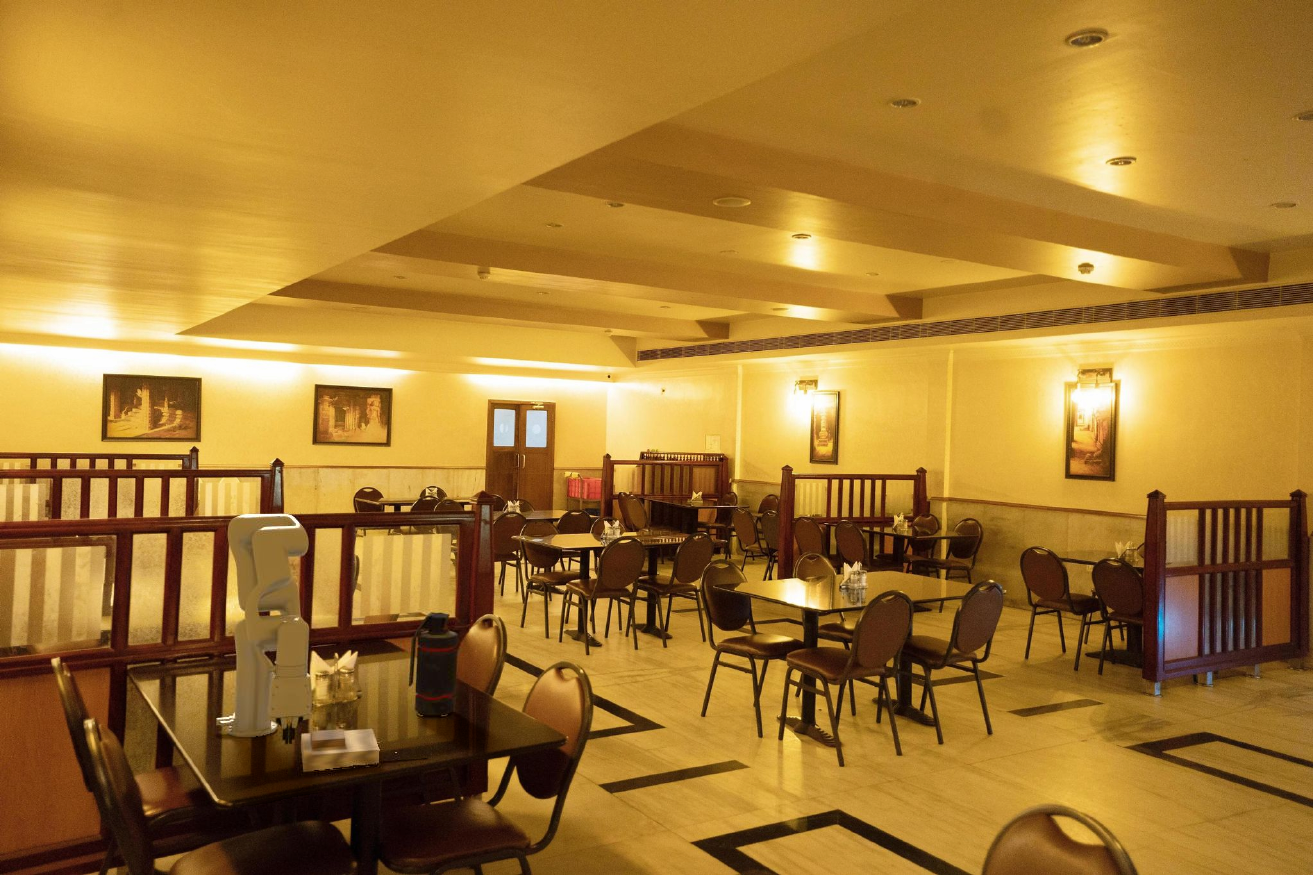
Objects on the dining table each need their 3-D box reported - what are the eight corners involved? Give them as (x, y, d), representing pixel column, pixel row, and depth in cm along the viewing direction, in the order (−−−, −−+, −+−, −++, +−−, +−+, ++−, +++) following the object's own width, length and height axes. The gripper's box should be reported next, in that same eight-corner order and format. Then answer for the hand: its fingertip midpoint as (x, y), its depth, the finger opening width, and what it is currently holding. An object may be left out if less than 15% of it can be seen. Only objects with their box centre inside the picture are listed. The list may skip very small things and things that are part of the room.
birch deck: (303, 771, 238) (304, 755, 238) (300, 748, 254) (301, 733, 254) (378, 765, 244) (379, 749, 244) (371, 743, 261) (372, 728, 261)
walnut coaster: (311, 748, 243) (312, 740, 243) (310, 738, 250) (310, 731, 250) (345, 745, 246) (345, 738, 246) (342, 736, 253) (342, 728, 253)
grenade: (457, 708, 298) (462, 611, 298) (450, 719, 286) (455, 618, 286) (412, 706, 297) (417, 609, 298) (404, 717, 286) (408, 616, 286)
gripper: (259, 675, 238) (256, 749, 238) (323, 672, 244) (320, 744, 244) (259, 668, 245) (256, 740, 245) (321, 665, 251) (318, 735, 251)
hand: (288, 742), depth 245 cm, fingers closed
